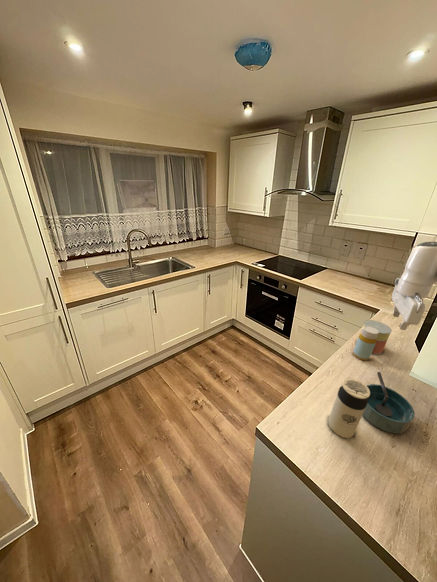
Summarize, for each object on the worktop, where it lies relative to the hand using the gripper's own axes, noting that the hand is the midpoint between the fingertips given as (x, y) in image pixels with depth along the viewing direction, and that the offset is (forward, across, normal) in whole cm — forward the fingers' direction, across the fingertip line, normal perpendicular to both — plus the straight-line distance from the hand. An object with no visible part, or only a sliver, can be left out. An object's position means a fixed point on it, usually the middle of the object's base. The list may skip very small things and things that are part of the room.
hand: (398, 322), depth 87 cm
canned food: (+28, +23, -2) cm, 36 cm away
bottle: (+28, +13, +4) cm, 31 cm away
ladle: (+27, -13, +1) cm, 30 cm away
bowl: (+28, -19, +1) cm, 34 cm away
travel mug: (+28, -30, +15) cm, 44 cm away
